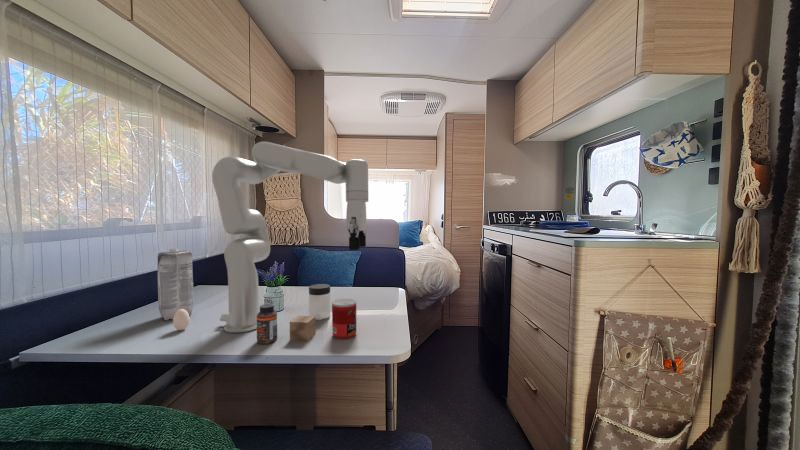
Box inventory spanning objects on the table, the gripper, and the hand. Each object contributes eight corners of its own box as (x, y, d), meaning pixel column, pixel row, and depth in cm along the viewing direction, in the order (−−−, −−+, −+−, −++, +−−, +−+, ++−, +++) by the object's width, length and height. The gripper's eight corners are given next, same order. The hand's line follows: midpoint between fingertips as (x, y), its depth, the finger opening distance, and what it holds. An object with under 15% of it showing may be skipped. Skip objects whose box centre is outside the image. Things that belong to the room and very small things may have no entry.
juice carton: (195, 315, 120) (193, 248, 119) (161, 322, 112) (159, 250, 111) (189, 311, 126) (188, 246, 125) (157, 317, 118) (155, 249, 117)
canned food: (351, 340, 95) (351, 305, 94) (328, 338, 96) (327, 304, 96) (359, 331, 102) (359, 299, 102) (337, 329, 104) (337, 298, 104)
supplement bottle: (252, 343, 93) (251, 307, 92) (265, 336, 98) (265, 302, 98) (268, 345, 91) (268, 308, 91) (281, 338, 97) (280, 303, 97)
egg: (169, 332, 102) (169, 311, 102) (179, 327, 107) (179, 307, 107) (183, 332, 102) (183, 311, 102) (193, 327, 107) (192, 306, 107)
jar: (314, 321, 112) (314, 289, 111) (304, 316, 118) (303, 286, 117) (335, 316, 118) (335, 285, 118) (324, 311, 124) (324, 282, 124)
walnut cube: (289, 340, 95) (289, 321, 95) (298, 333, 101) (298, 315, 101) (308, 341, 94) (307, 322, 94) (315, 334, 100) (315, 316, 100)
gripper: (352, 199, 109) (353, 245, 110) (338, 195, 92) (339, 251, 93) (373, 198, 109) (373, 245, 109) (362, 195, 92) (363, 251, 92)
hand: (357, 248), depth 101 cm, fingers open, 9 cm apart
